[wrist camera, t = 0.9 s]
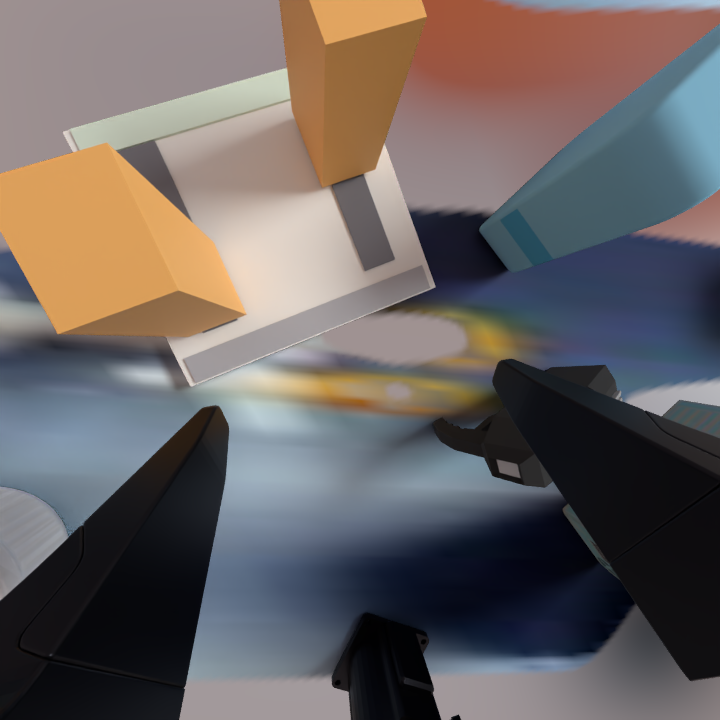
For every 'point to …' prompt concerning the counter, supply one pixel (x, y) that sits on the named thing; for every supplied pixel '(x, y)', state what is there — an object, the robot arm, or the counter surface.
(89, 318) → the orange rectangular block
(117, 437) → the counter surface
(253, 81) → the dip bank
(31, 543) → the ramekin
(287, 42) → the tab
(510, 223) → the data package
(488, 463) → the gun
